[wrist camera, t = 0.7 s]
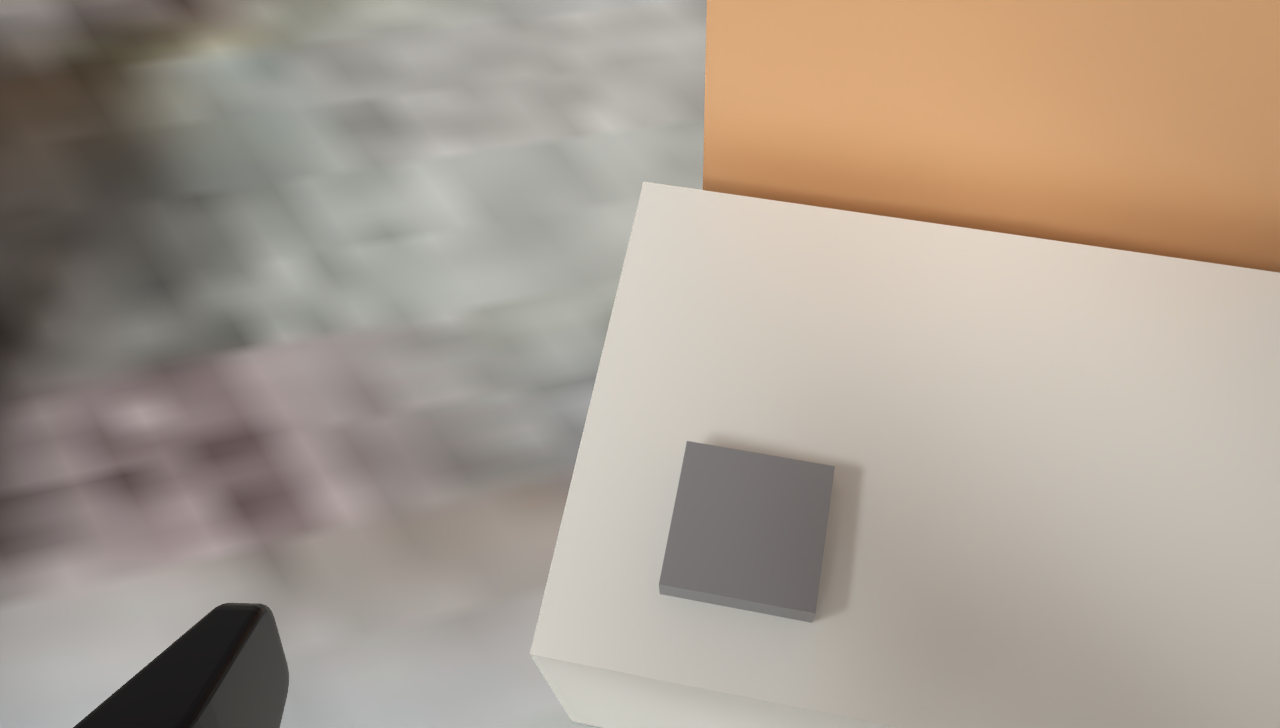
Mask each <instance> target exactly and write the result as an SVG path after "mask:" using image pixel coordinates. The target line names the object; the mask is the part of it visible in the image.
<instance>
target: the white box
mask: <svg viewBox="0 0 1280 728" xmlns="http://www.w3.org/2000/svg"><path fill="white" fill-rule="evenodd" d="M530 655H531V657H532V658H533V660H534V662H535V663H536V665H537V666H538V668H539V670H540V671H541V673H542V674H543V676H544V678H545V679H546V681H547V682H548V684H549V685H550V687H551V689H552V690H553V692H554V693H555V695H556V697H557V698H558V700H559V701H560V703H561V705H562V706H563V708H564V709H565V711H566V712H567V714H568V716H569V717H570V719H571V720H572V722H577V723H582V724H587V725H592V726H597V727H602V728H1280V273H1278V272H1271V271H1264V270H1257V269H1250V268H1243V267H1236V266H1229V265H1222V264H1215V263H1208V262H1201V261H1194V260H1188V259H1181V258H1174V257H1167V256H1160V255H1153V254H1146V253H1139V252H1132V251H1125V250H1118V249H1111V248H1104V247H1097V246H1090V245H1083V244H1076V243H1069V242H1062V241H1055V240H1048V239H1041V238H1034V237H1027V236H1020V235H1013V234H1006V233H999V232H992V231H985V230H978V229H971V228H964V227H957V226H950V225H943V224H936V223H929V222H922V221H915V220H908V219H901V218H894V217H887V216H880V215H873V214H866V213H859V212H852V211H845V210H838V209H831V208H824V207H817V206H810V205H803V204H796V203H789V202H782V201H775V200H768V199H761V198H754V197H747V196H740V195H733V194H726V193H719V192H712V191H705V190H698V189H691V188H684V187H677V186H670V185H663V184H656V183H649V182H643V186H642V190H641V194H640V198H639V202H638V206H637V211H636V215H635V219H634V223H633V227H632V231H631V235H630V240H629V244H628V248H627V252H626V256H625V260H624V265H623V269H622V273H621V277H620V281H619V285H618V289H617V294H616V298H615V302H614V306H613V310H612V314H611V319H610V323H609V327H608V331H607V335H606V339H605V343H604V348H603V352H602V356H601V360H600V364H599V368H598V373H597V377H596V381H595V385H594V389H593V393H592V397H591V402H590V406H589V410H588V414H587V418H586V422H585V427H584V431H583V435H582V439H581V443H580V447H579V451H578V456H577V460H576V464H575V468H574V472H573V476H572V481H571V485H570V489H569V493H568V497H567V501H566V505H565V510H564V514H563V518H562V522H561V526H560V530H559V535H558V539H557V543H556V547H555V551H554V555H553V559H552V564H551V568H550V572H549V576H548V580H547V584H546V588H545V593H544V597H543V601H542V605H541V609H540V613H539V618H538V622H537V626H536V630H535V634H534V638H533V642H532V647H531V651H530Z"/></svg>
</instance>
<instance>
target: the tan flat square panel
mask: <svg viewBox="0 0 1280 728" xmlns="http://www.w3.org/2000/svg"><path fill="white" fill-rule="evenodd" d="M703 190H705V191H712V192H719V193H726V194H733V195H740V196H747V197H754V198H761V199H768V200H775V201H782V202H789V203H796V204H803V205H810V206H817V207H824V208H831V209H838V210H845V211H852V212H859V213H866V214H873V215H880V216H887V217H894V218H901V219H908V220H915V221H922V222H929V223H936V224H943V225H950V226H957V227H964V228H971V229H978V230H985V231H992V232H999V233H1006V234H1013V235H1020V236H1027V237H1034V238H1041V239H1048V240H1055V241H1062V242H1069V243H1076V244H1083V245H1090V246H1097V247H1104V248H1111V249H1118V250H1125V251H1132V252H1139V253H1146V254H1153V255H1160V256H1167V257H1174V258H1181V259H1188V260H1194V261H1201V262H1208V263H1215V264H1222V265H1229V266H1236V267H1243V268H1250V269H1257V270H1264V271H1271V272H1278V273H1280V0H707V27H706V73H705V119H704V164H703Z"/></svg>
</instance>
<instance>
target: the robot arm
mask: <svg viewBox="0 0 1280 728" xmlns="http://www.w3.org/2000/svg"><path fill="white" fill-rule="evenodd" d="M288 685H289V672H288V665H287V661H286V658H285V654H284V651H283V647H282V644H281V640H280V636H279V633H278V629H277V626H276V622H275V619H274V616H273V613H272V611H271V610H270V608H269V607H268V606H266V605H263V604H249V603H226V604H222V605H220V606H218V607H216V608H215V609H213V610H212V611H211V612H210V613H208V614H207V615H206V616H205V617H204V618H202V619H201V620H200V621H199V622H198V623H197V624H195V625H194V626H193V627H192V628H191V629H189V630H188V631H187V632H186V633H185V634H184V635H182V636H181V637H180V638H179V639H178V640H176V641H175V642H174V643H173V644H172V645H171V646H169V647H168V648H167V649H166V650H165V651H163V652H162V653H161V654H160V655H159V656H157V657H156V658H155V659H154V660H153V661H152V662H150V663H149V664H148V665H147V666H146V667H144V668H143V669H142V670H141V671H140V672H139V673H137V674H136V675H135V676H134V677H133V678H131V679H130V680H129V681H128V682H127V683H125V684H124V685H123V686H122V687H121V688H120V689H118V690H117V691H116V692H115V693H114V694H112V695H111V696H110V697H109V698H108V699H107V700H105V701H104V702H103V703H102V704H101V705H99V706H98V707H97V708H96V709H95V710H94V711H92V712H91V713H90V714H89V715H88V716H86V717H85V718H84V719H83V720H82V721H80V722H79V723H78V724H77V725H76V726H75V727H73V728H280V724H281V719H282V715H283V711H284V706H285V702H286V698H287V693H288Z"/></svg>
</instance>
